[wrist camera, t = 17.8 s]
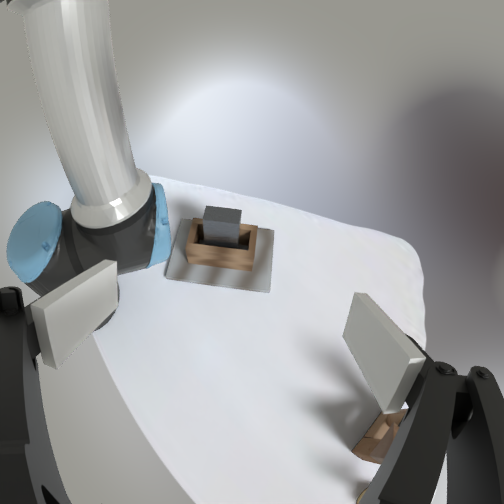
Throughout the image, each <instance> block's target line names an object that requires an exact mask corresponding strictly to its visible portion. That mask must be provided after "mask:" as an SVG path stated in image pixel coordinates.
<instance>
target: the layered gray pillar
mask: <svg viewBox="0 0 504 504" xmlns="http://www.w3.org/2000/svg"><path fill="white" fill-rule="evenodd" d="M241 212H242V210H238V209H230V208H222V207H213V206H206V208H205V212H204V216H203V230H204V241H205V245H209V246H217V247H225V248H233V249H238V245H239V234H240V223H241Z"/></svg>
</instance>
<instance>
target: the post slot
mask: <svg viewBox="0 0 504 504" xmlns="http://www.w3.org/2000/svg"><path fill="white" fill-rule="evenodd" d="M273 243H274V230H268V229H261V228H258V226H255V225H248V224H240V234H239V245H238V249H233V248H225V247H217V246H209V245H205V241H204V230H203V219H199V218H193V220H188V219H182V220H181V223H180V226H179V230H178V233H177V237H176V240H175V244H174V247H173V251H172V255H171V258H170V262H169V266H168V269H167V273H166V279H171V280H177V281H184V282H190V283H197V284H204V285H212V286H219V287H226V288H234V289H242V290H249V291H258V292H266V293H269V292H270V286H271V272H272V258H273Z"/></svg>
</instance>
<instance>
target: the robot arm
mask: <svg viewBox="0 0 504 504" xmlns="http://www.w3.org/2000/svg"><path fill="white" fill-rule="evenodd" d="M2 1H4V0H0V2H2ZM6 1H7V10H9V11H12V12H15V13H18V14H21V16H22V17H23V19H24V27H25V34H26V40H27V46H28V51H29V57H30V62H31V66H32V71H33V75H34V79H35V83H36V87H37V91H38V94H39V98H40V102H41V105H42V109H43V112H44V115H45V118H46V122H47V125H48V128H49V130H50V133H51V137H52V139H53V142H54V145H55V148H56V150H57V153H58V156H59V158H60V161H61V163H62V166H63V168H64V171H65V173H66V176H67V178H68V180H69V183H70V185H71V187H72V189H73V192H74V194H75V196H74V198H73V200H72V203H71V208H70V209H67V210H64V211H61V209H60V208H59V206H57V205H55V204H54V203H51V202H49V201H44V202H40V203H38V204H35V205H34V206H32V207H31V208H29V209H28V210H27V211H26V212H25V213H24V214H23V215H22V216H21V217H20V218H19V219H18V221H17V223H16V224H15V226H14V227H13V229H12V231H11V234H10V237H9V239H8V243H7V260H8V263H9V266H10V268H11V269H12V270H13V271H14V273H15V274H16V275H18V278H19V279H20V280H21V281H22V282H24V283H25V284H26V285H27V286H29V287H30V288H31V289H32V290H33V291H35V292H36V293H37V294H39V295H40V296H41V297H40V298H39V299H38V300H35V301H34V302H32V303H31V304H29V305H27V306H26V307H24V303H23V298H22V291H21V289H20V288H18V287H4V288H1V289H0V504H72V503H71V502H70V500H69V498H68V496H67V494H66V491H65V489H64V486H63V483H62V481H61V477H60V474H59V471H58V468H57V465H56V461H55V458H54V454H53V450H52V447H51V443H50V438H49V434H48V430H47V425H46V420H45V415H44V409H43V403H42V396H41V389H40V381H39V372H38V363H37V360H36V356H37V355H38V354H39V353H40V352H41V356H42V359H43V363H44V364H45V365H48V366H50V367H52V368H55V369H58V368H59V367H60V366H61V364H63V362H64V361H65V360H66V359H67V358H68V357H69V356H70V355H71V354H72V353H73V352H74V351H75V350H76V349H77V348H78V346H79V345H80V344H81V343H82V342H83V341H84V340H85V339H86V338H87V337H88V336H89V335H90V334H91V333H92V332H93V331H96V330H98V329H100V328H101V327H103V326H104V325H105V324H106V323H107V322H108V321H109V320H110V319H111V318H112V316H113V314H114V313H115V311H116V308H117V307H118V302H119V285H118V282H117V275H121V274H125V273H129V272H133V271H137V270H141V269H145V268H146V269H147V268H149V267H151V266H152V265H155V264H158V263H161V262H164V261H166V260H167V259H168V258H169V256H170V254H171V235H170V227H169V221H168V211H167V204H166V198H165V193H164V189H163V186H162V185H161V184H159V183H151V180H150V178H149V176H148V175H147V173H145V172H144V171H142V170H140V169H138V168H136V167H135V163H134V159H133V154H132V151H131V146H130V142H129V137H128V133H127V128H126V123H125V118H124V113H123V108H122V103H121V98H120V92H119V86H118V80H117V74H116V67H115V60H114V53H113V45H112V36H111V27H110V17H109V16H110V15H109V2H108V0H6ZM343 338H344V340H345V342H346V343H347V345H348V347H349V349H350V351H351V353H352V355H353V356H354V358H355V360H356V362H357V364H358V366H359V368H360V369H361V371H362V373H363V375H364V377H365V379H366V381H367V383H368V385H369V387H370V388H371V390H372V392H373V394H374V396H375V398H376V400H377V402H378V404H379V406H380V408H381V410H382V412H383V414H390V413H398V412H399V411H400V410H401V408H402V406H403V404H404V402H406V403H407V405H408V407H409V408H408V410H407V411H406V413H405V415H404V416H403V418H402V420H401V421H400V423H399V425H398V427H399V429H398V431H397V433H396V436H395V438H394V440H393V442H392V444H391V446H390V448H389V450H388V452H387V454H386V456H385V458H384V460H383V462H382V464H381V466H380V467H379V469H378V471H377V473H376V475H375V476H374V478H373V480H372V482H371V483H370V485H369V487H368V488H367V490H366V492H365V493H364V495H363V496H362V498H361V500H360V501H359V503H358V504H431V501H432V498H433V495H434V492H435V489H436V486H437V483H438V479H439V476H440V473H441V469H442V466H443V462H444V458H445V454H446V453H447V504H504V398H503V396H502V393H501V391H500V389H499V386H498V384H497V382H496V380H495V378H494V375H493V374H492V373H491V372H490V371H489V370H488V369H487V368H485V367H480V366H474V367H472V368H471V370H470V372H469V374H468V376H462V375H458V374H457V371H456V370H455V368H454V367H452V366H451V365H449V364H447V363H444V362H434V361H433V360H432V359H431V358H430V357H429V356H428V355H427V353H426V352H425V351H424V350H422V348H421V347H420V346H419V345H418V343H417V342H416V341H415V340H414V339H413V338H411V337H410V336H408V335H407V334H405V333H403V331H402V330H401V329H400V328H399V327H398V326H397V325H396V324H395V323H394V322H393V321H392V320H391V319H390V317H389V316H388V315H387V314H386V313H385V312H384V311H383V310H382V309H381V308H380V307H379V306H378V305H377V304H376V303H375V302H374V301H373V300H372V299H371V297H370V296H369V295H368V294H366V293H356V292H354V296H353V300H352V304H351V308H350V311H349V315H348V319H347V322H346V326H345V329H344V333H343Z"/></svg>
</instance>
